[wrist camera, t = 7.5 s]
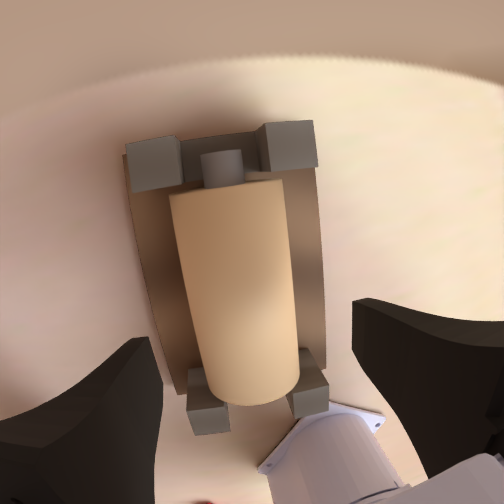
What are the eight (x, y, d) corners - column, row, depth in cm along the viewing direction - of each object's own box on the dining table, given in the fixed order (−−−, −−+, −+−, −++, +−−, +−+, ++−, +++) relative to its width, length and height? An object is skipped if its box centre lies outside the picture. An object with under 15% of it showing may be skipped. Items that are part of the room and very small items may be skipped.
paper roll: (291, 364, 19) (309, 416, 15) (213, 375, 19) (212, 431, 14) (269, 148, 16) (287, 141, 11) (173, 162, 16) (152, 160, 11)
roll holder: (321, 360, 21) (348, 405, 16) (178, 386, 20) (174, 437, 15) (304, 131, 17) (339, 119, 12) (126, 155, 16) (98, 150, 11)
